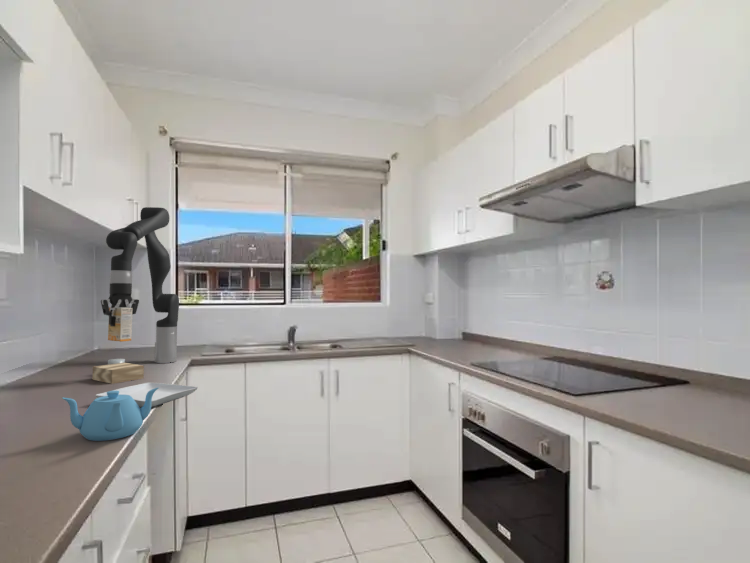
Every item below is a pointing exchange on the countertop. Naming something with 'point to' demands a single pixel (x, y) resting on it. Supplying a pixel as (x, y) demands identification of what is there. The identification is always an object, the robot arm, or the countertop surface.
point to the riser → (118, 372)
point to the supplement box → (121, 325)
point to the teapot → (110, 416)
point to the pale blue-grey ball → (116, 361)
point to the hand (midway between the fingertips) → (119, 325)
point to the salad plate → (160, 395)
